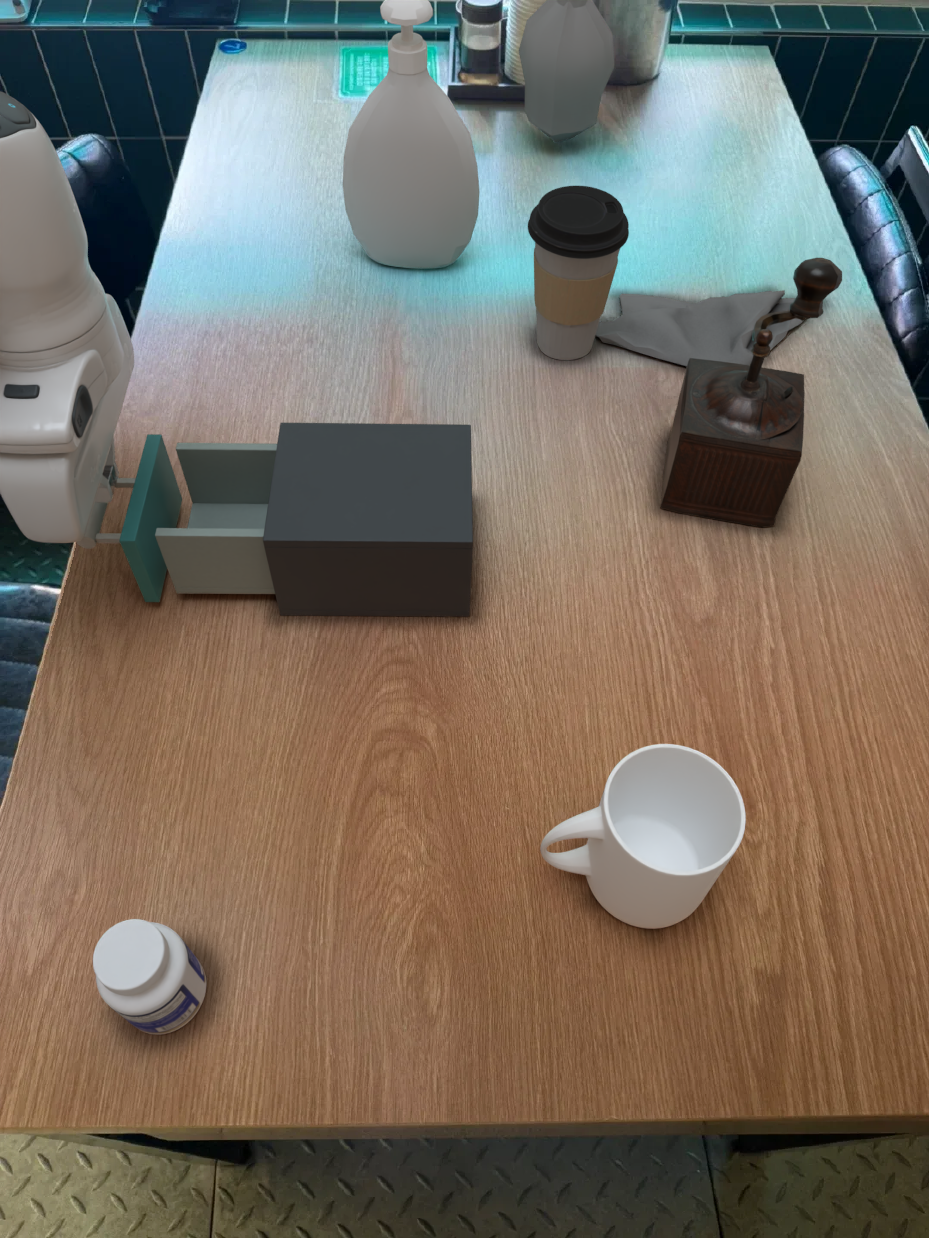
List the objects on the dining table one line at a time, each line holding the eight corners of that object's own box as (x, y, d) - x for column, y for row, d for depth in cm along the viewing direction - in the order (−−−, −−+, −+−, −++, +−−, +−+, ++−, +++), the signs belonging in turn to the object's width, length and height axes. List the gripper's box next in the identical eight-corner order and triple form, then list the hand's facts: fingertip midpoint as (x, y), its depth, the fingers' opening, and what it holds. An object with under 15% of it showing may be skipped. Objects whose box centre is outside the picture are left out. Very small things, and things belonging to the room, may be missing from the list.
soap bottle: (479, 238, 109) (490, -27, 87) (474, 280, 105) (484, 12, 83) (354, 230, 110) (333, -36, 88) (344, 272, 105) (319, 2, 83)
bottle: (497, 147, 121) (511, -143, 97) (543, 111, 127) (568, -171, 102) (572, 175, 118) (607, -117, 93) (617, 138, 123) (661, -148, 98)
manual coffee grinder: (781, 531, 84) (853, 372, 70) (657, 510, 85) (702, 348, 71) (784, 415, 93) (848, 251, 78) (671, 397, 94) (715, 232, 80)
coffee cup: (627, 351, 98) (653, 218, 86) (555, 384, 95) (571, 251, 83) (571, 303, 103) (588, 170, 90) (500, 333, 99) (508, 199, 87)
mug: (528, 816, 68) (541, 747, 59) (692, 810, 69) (729, 740, 60) (539, 937, 63) (555, 880, 54) (716, 929, 64) (760, 872, 55)
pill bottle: (134, 948, 62) (94, 903, 55) (214, 951, 62) (184, 907, 55) (114, 1035, 59) (69, 999, 52) (198, 1038, 59) (165, 1003, 52)
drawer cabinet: (280, 615, 78) (262, 540, 70) (294, 501, 85) (280, 422, 77) (469, 616, 78) (472, 542, 70) (468, 503, 85) (470, 424, 78)
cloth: (598, 377, 96) (602, 359, 94) (582, 293, 104) (585, 275, 102) (850, 373, 97) (858, 355, 95) (815, 291, 105) (822, 273, 103)
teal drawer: (88, 602, 77) (57, 540, 71) (117, 498, 84) (91, 433, 77) (323, 603, 78) (312, 542, 71) (333, 500, 84) (324, 435, 78)
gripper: (40, 252, 69) (93, 398, 80) (-44, 451, 57) (32, 590, 68) (128, 255, 69) (168, 400, 80) (62, 454, 57) (120, 591, 69)
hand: (105, 489), depth 74 cm, fingers closed
